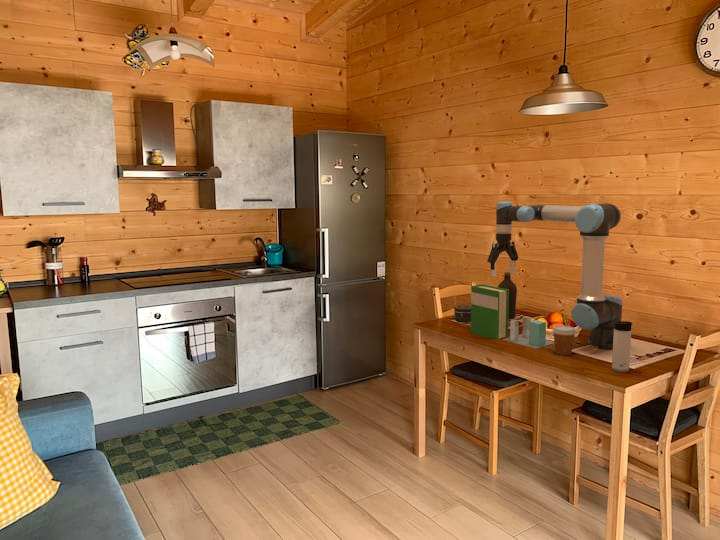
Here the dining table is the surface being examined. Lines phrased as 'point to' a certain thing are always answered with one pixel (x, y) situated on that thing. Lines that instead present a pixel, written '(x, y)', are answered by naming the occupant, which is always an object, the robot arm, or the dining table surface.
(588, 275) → the robot arm
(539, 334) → the grey-green piece
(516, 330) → the post
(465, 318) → the jar
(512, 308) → the olive oil
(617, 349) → the travel mug
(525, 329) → the goal post
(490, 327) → the hardback book
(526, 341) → the board
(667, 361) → the dining table surface
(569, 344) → the disposable coffee cup
